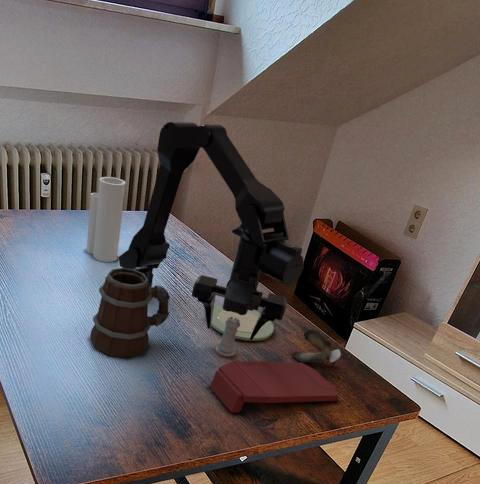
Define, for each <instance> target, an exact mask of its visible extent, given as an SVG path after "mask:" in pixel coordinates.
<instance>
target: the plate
mask: <svg viewBox="0 0 480 484" xmlns="http://www.w3.org/2000/svg"><path fill="white" fill-rule="evenodd" d="M260 313H261V312H259V311H258V310H253V311H250V310H248V311H247V314H245V315H239V314H238V313H234V312H231V311H229V312H228V311H225V310H224V309H223V304H220V305H216V306H214V310H213V317H212V322H211V326H210V327H212V328H213V329H214V330H216V331H217V332H219V333H220V334H222V335H224V332H225V327H226V324H225V321H226V320H228V317H233V319H235V317H236V318H237V320H238V319H239V320H240V322H239V323H240V327H238V328H237V333H236V335H235V340H236V339H237V340H241V341H249V342H251V341H252V342H254V341H255V342H256V341H263V340H266V339H268V338H270V337H271V336H272V335H273V333H274V329H275V328H274V327H275V326H274V323H273V321H268V322H266V323H265V324H264V325H263V326H262V327H261V328H260V330H259V331H258V332H257V334H256V335H255V336H254V338H253V339H252V340H250V337H251V334H252V331H253V328H254V326H255V324H256V322H257V319H258V317H259V315H260Z"/></svg>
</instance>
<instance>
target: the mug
mask: <svg viewBox="0 0 480 484" xmlns="http://www.w3.org/2000/svg"><path fill="white" fill-rule="evenodd" d="M98 292H99V294H100V296H101V298H100V301H99V307H98V311H97V313H96V314H95V315H94V316H92V321H93V323H94V325H93V327H92V328H91V331H90V336H89V337H90V341H91V343H92V345H93V348H94V349H96V350H98V351H100V352H102V353H103V354H104V355H106V356H110V357H116V358H124V359H125V358H126V359H129V358H132V357H136V356H140V355H143V354H144V352H145V350H146V349H147V348H148V346H149V340H150V338H149V334H148V332H149V330H150V329H151V327H153V326H155V327H159V326H161V325H162V324H163V323H165V322H166V320H167V319H168V318H169V315H170V311H169V300H170V299H171V297H170V294H169V292H168V291H167V289H166V288H165V287H163V286H162V285H158V284H156V285H154V286H153V287H150V286H149V283H148V279H147V277H146V276H145V275H144V274H143V273H141V272H139V271H136V270H134V269H127V268H122V267H119V268H112V269H111V270H110V271H109V272H108V273H107V275H106V276H105V279H104V281H103V284H102V285H101V286H100V287H99V288H98ZM153 298H155V299H156V300H157V301H158V309H157V310H156V313H154V314H153V313H152V315H151V316H149V315H148V311H149V303H150V302H151V301H152V299H153Z"/></svg>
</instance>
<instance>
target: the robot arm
mask: <svg viewBox="0 0 480 484" xmlns="http://www.w3.org/2000/svg"><path fill="white" fill-rule="evenodd" d="M156 148H157V149H156V151H157V155H158V159H159V169H158V172H157V176H156V180H155V183H154V186H153V190H152V194H151V198H150V200H149V204H148V208H147V212H146V215H145V217H144V221H143V225H142V227H141V228H140V229H139V230H138V231H137V232H136V233H135V234H134V235H133V237H132V239H131V241H130V243H129V245H128V249H127V250H126V251H124V252H123V253H122V254H120V255H119V256H118V265H119V267H120V268H127V269H134V270H136V271H139V272H141V273H143V274H144V275H145V276H146V277H147V279H148V283H149V286H150V287H152V285H153V280H154V273H153V271H154V269H159V267H160V264H161V263H163V262H164V260H166V259H167V254H168V250H169V248H170V246H171V245H170V243H169V242H168V241H167V240H166V235H165V231H166V227H167V224H168V221H169V218H170V215H171V212H172V208H173V205H174V202H175V199H176V197H177V193H178V191H179V187H180V183H181V181H182V177H183V174H184V173H185V171H186V170H187V168H188V167H190V165H191V164H192V163H193V162H194V161H195V160H196V158H197V155H198V154H199V151H200V149H203V151H204V152H205V153H206V155H207V157H208V159H210V161H211V163H212V164H213V166H214V167H215V169H216V170H217V172H218V174H219V175H220V177H221V179H223V181H224V183H225V184H226V186H227V187H228V189H229V190H230V192H231V193H232V195H233V198H234V208H235V212H236V214H237V217H238V218H239V221H240V225H239V226H237V227H235V228H233V229H231V233H232V234H234V235H236V236H238V237H239V241H238V245H237V248H236V253H235V257H234V260H233V264H232V268H231V272H230V276H229V280H228V281H227V282H226V286H221V285H218V284H217V283H218V278H214V277H211V276H208V275H207V276H206V275H203V274H201V275H200V276H198V277H197V278H196V280H195V282H194V284H193V287H192V291H191V296H192V297H193V298H195V299H197V302H198V303H201V304H202V306H203V308H204V312H205V319H206V320H205V321H206V327H207V329H208V330H210V328H211V327H212V326H211V322H212V317H213V310H214V307H215V303H216V297H220V298H221V297H222V298H224V300H223V303H222V305H223V309H224V310H225V311H228V312H229V311H231V312H234V313H238V314H239V315H245V314H247V311H248V310H250V311H253V310H255V311H259V308H261V311H260V312H259V313H260V315H259V317H258V319H257V322H256V324H255V326H254V328H253V331H252V334H251V337H250V340H252V339H253V338H254V336H255V335H256V334H257V332H258V331H259V330H260V328H261V327H262V326H263V325H264V324H265V323H266V322H268V321H271V322H275V321H276V320H278V321H282V320H283V318H284V314H285V312H286V309H287V303H288V300H287V297H286V296H283V295H280V294H276V293H271V292H268V295H267V298H266V297H263V295H264V293H263V292H262V291H258V286H259V282H260V280H261V276H262V273H263V274H264V275H266V276H268V277H270V278H271V279H274V280H275V281H278V282H279V283H281V284H283V285H284V286H291V285H293V284H295V282H296V281H297V280H298V279H299V277H301V274H302V272H303V270H304V268H305V265H304V257H303V256H302V253H303V248H301V247H300V246H298V245H293V244H291V243H289V242H287V241H289V239H290V237H289V232H288V227H287V222H286V217H285V214H284V213H285V205H284V203H283V201H282V199H281V198H280V197H279V196H278V195H277V194H276V192H274V191H273V190H272V189H271V188H269V187H268V186H266V185H264V184H263V183H261V182H260V181H259V180H258V179H257V178H256V177H255V175H254V173H253V172H252V170H251V169H250V168H249V166H248V164H247V163H246V161H245V160H244V158H243V157H242V156H241V154H240V152H239V151H238V149H237V147H236V146H235V145H234V143H233V141H232V140H231V138H230V137H229V135H228V131H227V129H226V127H224V126H223V125H222V124H211V123H207V124H202V125H198V124H197V123H196V122H189V121H188V122H186V121H185V122H183V121H181V122H180V121H169V122H167V123H165V124H163V125H162V127H161V128H160V131H159V137H158V143H157V147H156ZM272 229H273V231H267V232H263V231H265V230H272Z"/></svg>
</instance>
